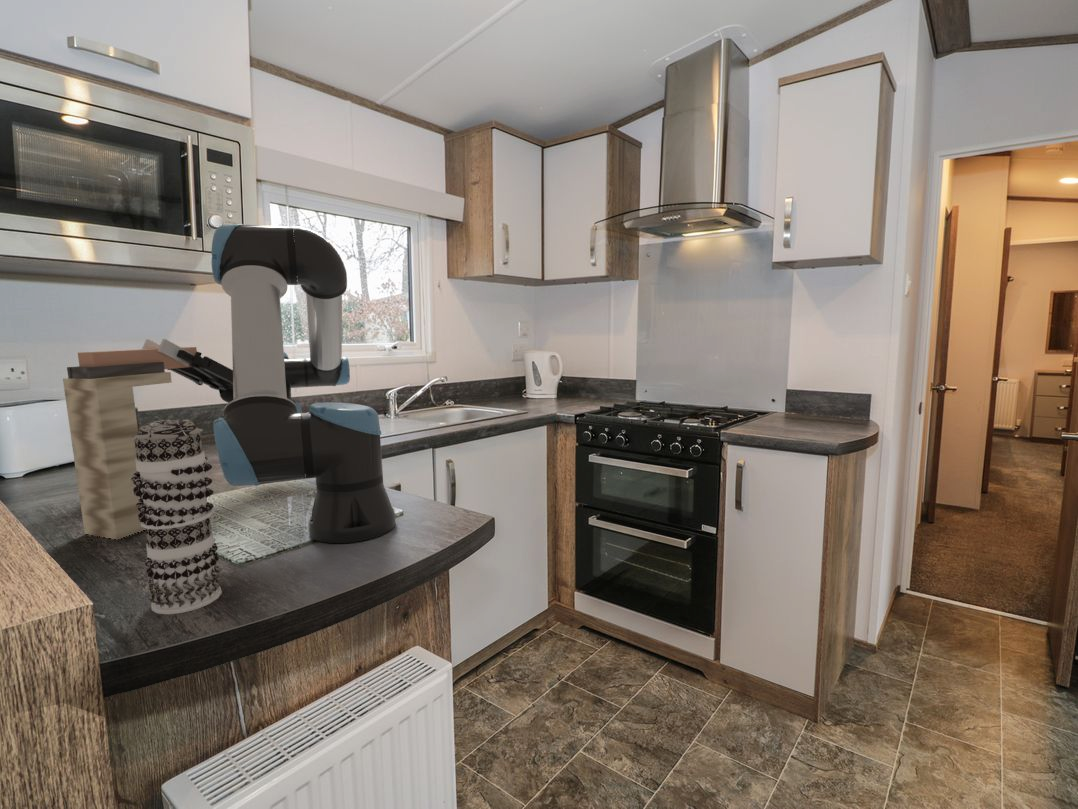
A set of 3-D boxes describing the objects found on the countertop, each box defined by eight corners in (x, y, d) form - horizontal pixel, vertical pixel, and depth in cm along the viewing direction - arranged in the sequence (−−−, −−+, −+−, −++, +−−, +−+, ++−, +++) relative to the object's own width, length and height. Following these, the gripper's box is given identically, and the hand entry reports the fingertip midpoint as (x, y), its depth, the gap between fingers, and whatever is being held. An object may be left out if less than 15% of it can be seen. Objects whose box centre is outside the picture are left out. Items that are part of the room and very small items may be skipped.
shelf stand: (186, 515, 115) (169, 361, 111) (117, 540, 103) (94, 367, 98) (156, 511, 118) (137, 361, 114) (84, 534, 106) (61, 367, 102)
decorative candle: (228, 579, 86) (210, 414, 82) (221, 606, 77) (201, 424, 74) (156, 591, 82) (134, 419, 78) (140, 622, 74) (116, 430, 70)
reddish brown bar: (198, 366, 119) (196, 347, 119) (95, 375, 101) (92, 352, 100) (184, 366, 121) (182, 347, 120) (80, 375, 102) (77, 352, 102)
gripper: (267, 408, 128) (176, 362, 108) (212, 406, 134) (116, 362, 114) (278, 377, 131) (190, 327, 111) (223, 377, 137) (131, 329, 117)
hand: (153, 345), depth 112 cm, fingers closed on reddish brown bar, 4 cm apart
